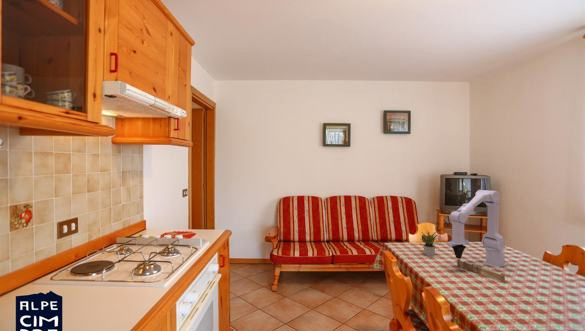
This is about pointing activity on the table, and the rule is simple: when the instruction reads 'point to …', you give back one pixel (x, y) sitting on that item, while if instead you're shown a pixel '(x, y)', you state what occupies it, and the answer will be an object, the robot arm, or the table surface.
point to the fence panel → (467, 266)
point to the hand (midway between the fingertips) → (458, 258)
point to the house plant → (429, 244)
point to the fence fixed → (491, 274)
